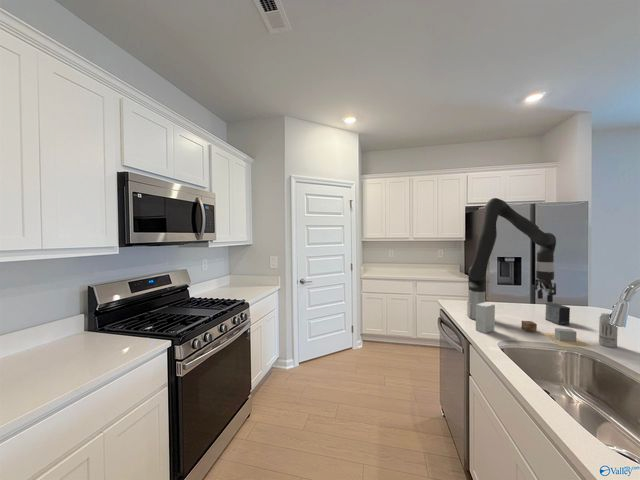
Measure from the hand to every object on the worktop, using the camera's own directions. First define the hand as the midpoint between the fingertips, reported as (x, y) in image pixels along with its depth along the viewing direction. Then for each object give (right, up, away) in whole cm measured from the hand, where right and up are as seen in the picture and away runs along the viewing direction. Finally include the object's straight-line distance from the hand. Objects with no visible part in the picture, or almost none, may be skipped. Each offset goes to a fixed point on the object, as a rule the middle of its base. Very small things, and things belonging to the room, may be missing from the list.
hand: (544, 300), depth 149 cm
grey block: (+2, -18, -10) cm, 20 cm away
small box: (+21, -17, +17) cm, 32 cm away
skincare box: (-30, -18, +4) cm, 35 cm away
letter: (+2, -18, -10) cm, 21 cm away
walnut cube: (-6, -18, +3) cm, 19 cm away
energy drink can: (+16, -18, -17) cm, 30 cm away
